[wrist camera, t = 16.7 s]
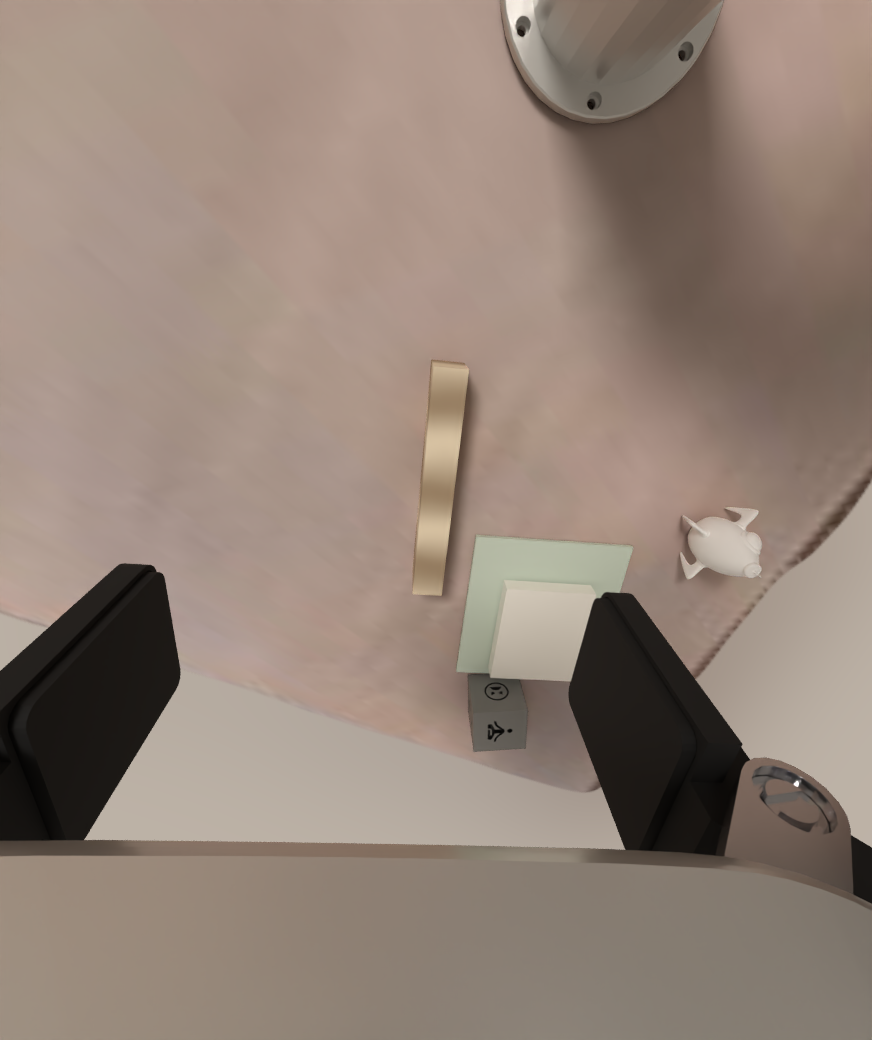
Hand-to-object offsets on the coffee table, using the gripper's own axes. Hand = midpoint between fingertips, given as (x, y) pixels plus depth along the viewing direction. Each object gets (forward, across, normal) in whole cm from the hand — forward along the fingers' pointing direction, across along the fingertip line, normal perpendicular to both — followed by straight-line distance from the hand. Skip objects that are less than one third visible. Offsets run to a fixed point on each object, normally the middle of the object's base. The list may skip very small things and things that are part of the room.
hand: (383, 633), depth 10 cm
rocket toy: (+28, -27, +9) cm, 40 cm away
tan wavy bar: (+28, -3, +6) cm, 29 cm away
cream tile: (+27, -14, +15) cm, 34 cm away
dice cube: (+28, -11, +29) cm, 42 cm away
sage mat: (+28, -14, +19) cm, 36 cm away
